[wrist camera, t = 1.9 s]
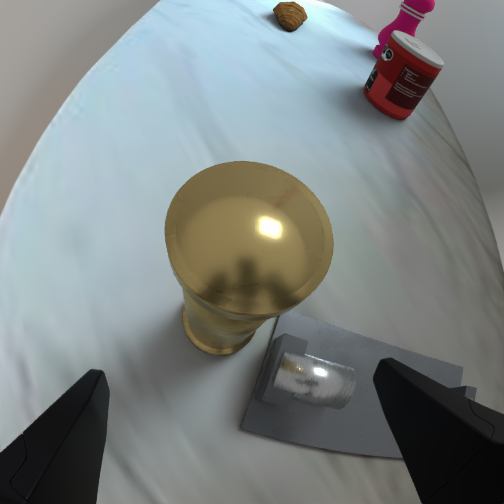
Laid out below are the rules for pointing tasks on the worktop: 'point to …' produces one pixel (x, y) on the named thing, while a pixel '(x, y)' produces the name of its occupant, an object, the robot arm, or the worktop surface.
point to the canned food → (402, 75)
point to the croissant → (290, 15)
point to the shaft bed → (363, 402)
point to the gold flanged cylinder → (244, 250)
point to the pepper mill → (405, 21)
